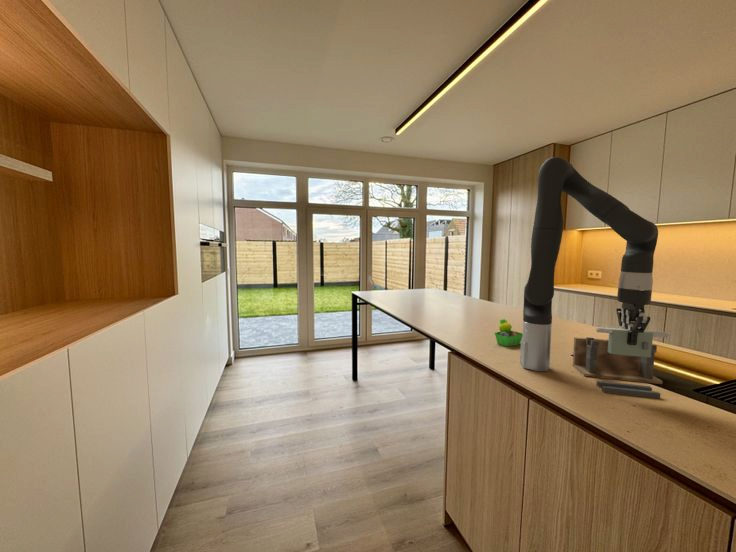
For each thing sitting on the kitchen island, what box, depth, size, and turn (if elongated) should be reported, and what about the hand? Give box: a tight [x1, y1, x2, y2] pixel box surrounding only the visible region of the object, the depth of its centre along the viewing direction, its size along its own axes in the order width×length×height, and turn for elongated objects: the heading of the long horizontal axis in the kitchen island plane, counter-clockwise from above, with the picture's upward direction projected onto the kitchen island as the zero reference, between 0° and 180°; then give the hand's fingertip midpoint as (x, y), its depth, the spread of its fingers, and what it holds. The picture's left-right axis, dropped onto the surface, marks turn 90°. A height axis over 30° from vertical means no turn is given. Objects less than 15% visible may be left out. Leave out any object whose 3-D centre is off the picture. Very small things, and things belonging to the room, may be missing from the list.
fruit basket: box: [494, 318, 523, 347], centre depth 138 cm, size 11×9×11 cm
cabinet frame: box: [572, 336, 663, 385], centre depth 103 cm, size 22×10×13 cm, turn 74°
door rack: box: [595, 380, 661, 399], centre depth 90 cm, size 14×5×2 cm, turn 74°
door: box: [595, 326, 670, 358], centre depth 89 cm, size 18×3×8 cm, turn 73°
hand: (629, 343), depth 89 cm, fingers closed on door, 2 cm apart
